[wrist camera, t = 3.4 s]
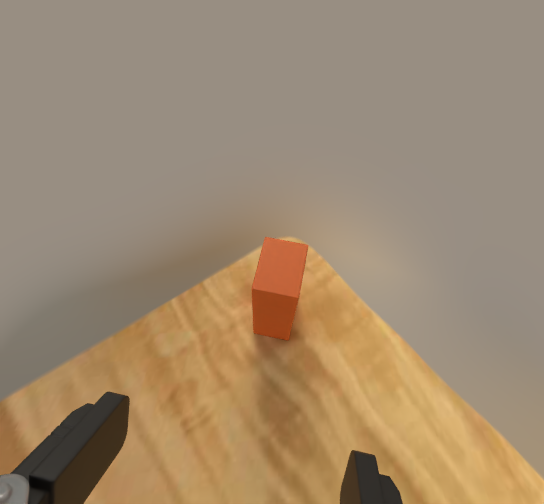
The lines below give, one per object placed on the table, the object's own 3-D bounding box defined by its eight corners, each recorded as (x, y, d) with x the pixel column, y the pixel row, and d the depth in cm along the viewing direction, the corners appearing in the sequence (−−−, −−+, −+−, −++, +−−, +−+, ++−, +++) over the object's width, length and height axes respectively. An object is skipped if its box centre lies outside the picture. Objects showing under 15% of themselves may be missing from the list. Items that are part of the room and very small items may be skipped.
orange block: (288, 340, 29) (298, 298, 22) (253, 333, 30) (251, 288, 22) (296, 297, 31) (308, 244, 24) (263, 291, 32) (265, 236, 24)
